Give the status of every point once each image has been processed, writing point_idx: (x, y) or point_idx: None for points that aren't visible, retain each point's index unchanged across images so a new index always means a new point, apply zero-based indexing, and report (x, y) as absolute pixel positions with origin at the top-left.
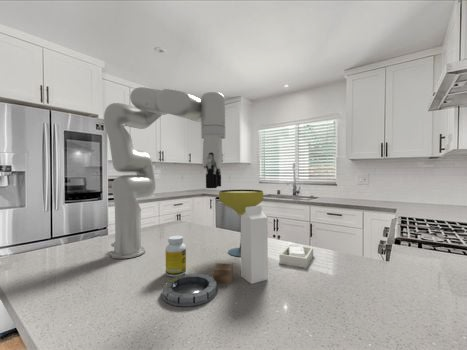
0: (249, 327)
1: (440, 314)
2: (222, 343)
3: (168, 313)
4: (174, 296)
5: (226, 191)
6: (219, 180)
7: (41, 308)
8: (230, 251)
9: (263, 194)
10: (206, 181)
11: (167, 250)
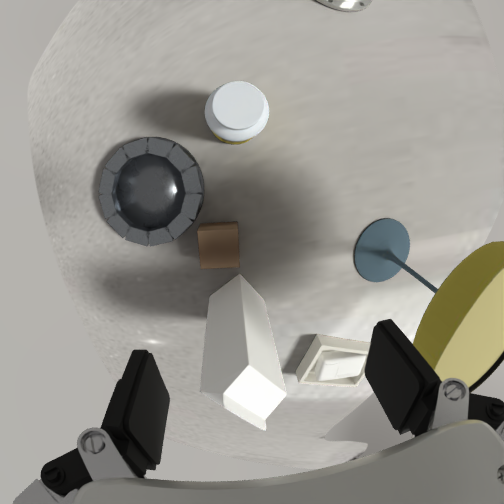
0: (95, 301)
1: (192, 440)
2: (64, 276)
3: (87, 185)
4: (100, 184)
5: None
6: (380, 397)
7: (87, 8)
8: (382, 225)
9: None
10: (122, 384)
11: (209, 96)
